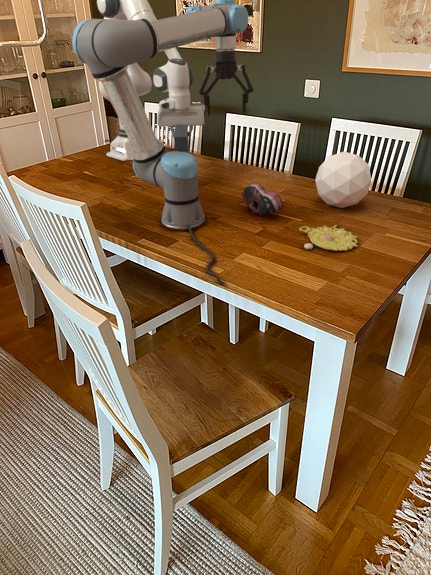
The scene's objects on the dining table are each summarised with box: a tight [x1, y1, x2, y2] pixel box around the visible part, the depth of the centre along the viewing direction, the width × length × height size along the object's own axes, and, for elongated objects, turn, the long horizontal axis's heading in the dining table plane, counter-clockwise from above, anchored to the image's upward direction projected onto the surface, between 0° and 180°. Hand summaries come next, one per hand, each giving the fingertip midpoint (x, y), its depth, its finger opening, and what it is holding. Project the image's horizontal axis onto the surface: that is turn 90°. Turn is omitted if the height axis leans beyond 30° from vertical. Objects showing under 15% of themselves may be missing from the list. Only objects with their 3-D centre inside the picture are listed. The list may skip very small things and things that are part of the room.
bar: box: [173, 125, 189, 153], centre depth 184 cm, size 24×5×8 cm, turn 3°
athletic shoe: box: [238, 182, 284, 217], centre depth 160 cm, size 11×22×12 cm
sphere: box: [314, 151, 372, 209], centre depth 160 cm, size 19×20×20 cm
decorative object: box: [299, 224, 359, 252], centre depth 141 cm, size 21×2×20 cm
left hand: (181, 136), depth 193 cm, fingers closed on bar, 5 cm apart
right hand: (226, 113), depth 167 cm, fingers open, 13 cm apart
